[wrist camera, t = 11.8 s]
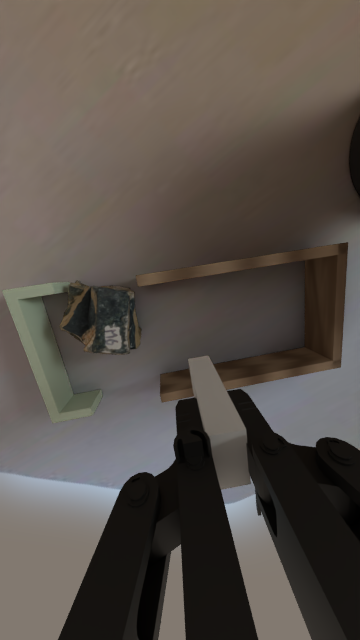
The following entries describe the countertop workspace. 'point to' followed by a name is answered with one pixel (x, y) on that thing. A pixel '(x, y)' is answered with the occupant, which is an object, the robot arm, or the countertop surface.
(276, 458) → the robot arm
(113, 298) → the rock
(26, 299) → the bracket
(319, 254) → the cubby
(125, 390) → the countertop surface
